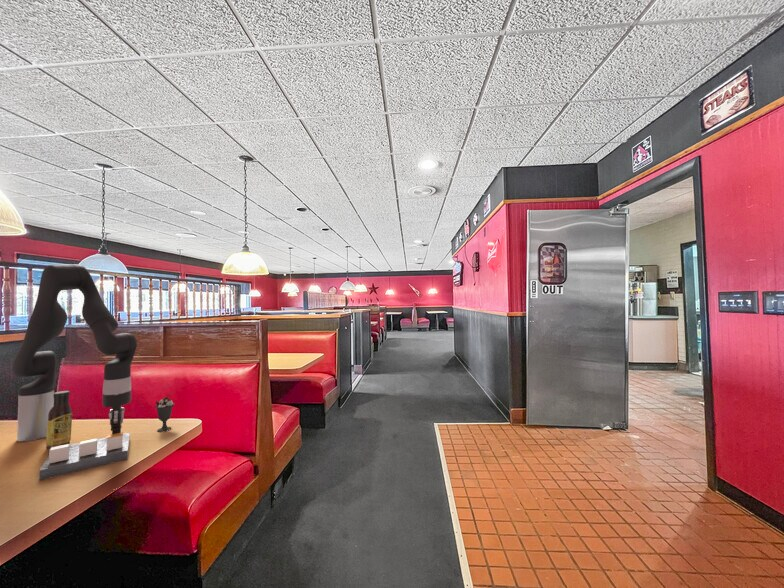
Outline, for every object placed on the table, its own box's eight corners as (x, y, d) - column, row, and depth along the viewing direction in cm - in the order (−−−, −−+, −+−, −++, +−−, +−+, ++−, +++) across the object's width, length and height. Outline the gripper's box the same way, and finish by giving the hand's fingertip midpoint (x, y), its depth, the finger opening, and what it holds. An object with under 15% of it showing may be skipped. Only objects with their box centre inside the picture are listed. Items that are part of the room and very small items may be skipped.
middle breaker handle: (80, 453, 101) (80, 441, 101) (97, 450, 104) (97, 438, 104) (78, 456, 99) (79, 444, 99) (96, 453, 102) (96, 440, 102)
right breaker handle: (51, 460, 97) (51, 447, 97) (69, 456, 100) (69, 443, 100) (49, 463, 95) (49, 450, 95) (67, 459, 98) (68, 446, 98)
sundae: (178, 427, 131) (178, 391, 131) (161, 433, 124) (162, 396, 125) (167, 425, 133) (167, 390, 133) (150, 431, 126) (151, 394, 127)
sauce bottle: (53, 452, 109) (55, 395, 110) (40, 450, 111) (42, 394, 111) (76, 443, 116) (77, 390, 116) (63, 442, 117) (64, 389, 117)
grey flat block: (53, 456, 106) (53, 447, 106) (129, 440, 119) (129, 432, 119) (39, 480, 92) (39, 470, 92) (127, 459, 105) (127, 450, 105)
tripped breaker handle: (106, 448, 105) (107, 435, 105) (122, 444, 108) (123, 432, 108) (106, 450, 103) (106, 437, 103) (122, 447, 106) (122, 434, 106)
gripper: (104, 388, 112) (103, 436, 111) (100, 397, 101) (99, 450, 101) (131, 384, 116) (130, 431, 116) (130, 393, 106) (129, 444, 106)
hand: (116, 440), depth 108 cm, fingers closed
